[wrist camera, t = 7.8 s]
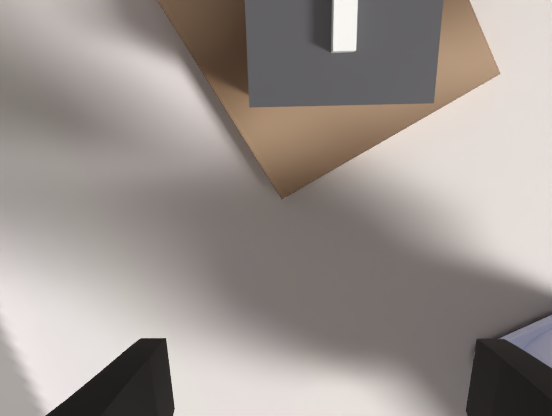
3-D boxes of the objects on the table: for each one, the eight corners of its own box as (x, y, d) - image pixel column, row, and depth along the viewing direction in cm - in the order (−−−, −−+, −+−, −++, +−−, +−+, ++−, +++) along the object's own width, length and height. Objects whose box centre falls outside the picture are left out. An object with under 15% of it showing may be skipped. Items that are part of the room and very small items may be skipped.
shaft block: (488, 74, 16) (558, 70, 12) (282, 193, 18) (279, 226, 14) (378, -180, 14) (417, -296, 10) (153, -14, 16) (103, -51, 12)
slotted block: (390, 97, 16) (440, 104, 11) (261, 100, 16) (247, 108, 11) (399, -51, 14) (463, -131, 9) (256, -46, 14) (237, -121, 9)
